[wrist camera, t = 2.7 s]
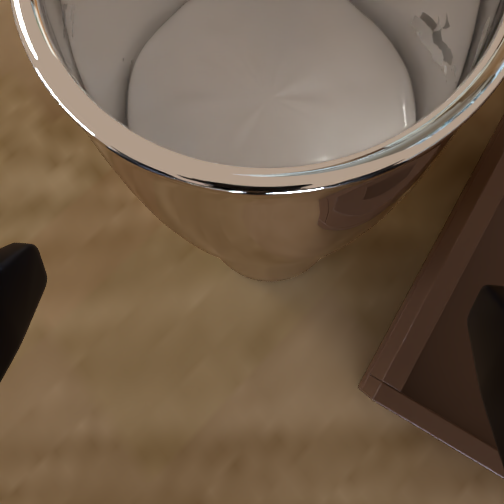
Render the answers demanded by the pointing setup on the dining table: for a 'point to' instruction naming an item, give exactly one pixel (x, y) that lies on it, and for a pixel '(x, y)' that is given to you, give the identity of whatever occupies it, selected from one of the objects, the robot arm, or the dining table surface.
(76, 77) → the beer glass
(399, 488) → the dining table surface
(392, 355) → the tray
